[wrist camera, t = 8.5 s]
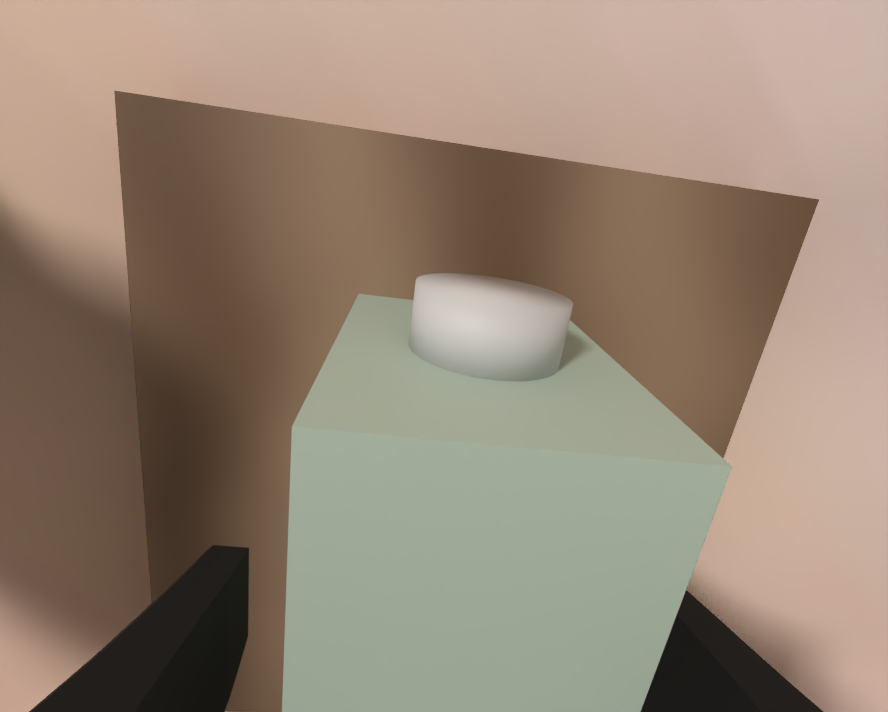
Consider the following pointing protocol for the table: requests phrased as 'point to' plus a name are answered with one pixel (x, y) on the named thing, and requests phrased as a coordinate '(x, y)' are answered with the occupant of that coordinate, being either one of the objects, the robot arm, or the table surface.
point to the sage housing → (485, 512)
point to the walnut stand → (392, 275)
